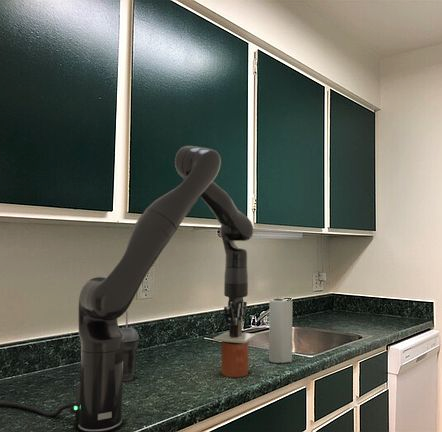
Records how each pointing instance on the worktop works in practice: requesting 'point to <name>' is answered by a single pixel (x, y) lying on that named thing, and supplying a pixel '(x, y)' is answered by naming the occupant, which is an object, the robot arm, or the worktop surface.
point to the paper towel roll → (280, 331)
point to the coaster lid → (239, 338)
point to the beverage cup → (129, 350)
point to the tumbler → (234, 359)
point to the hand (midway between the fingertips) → (235, 335)
